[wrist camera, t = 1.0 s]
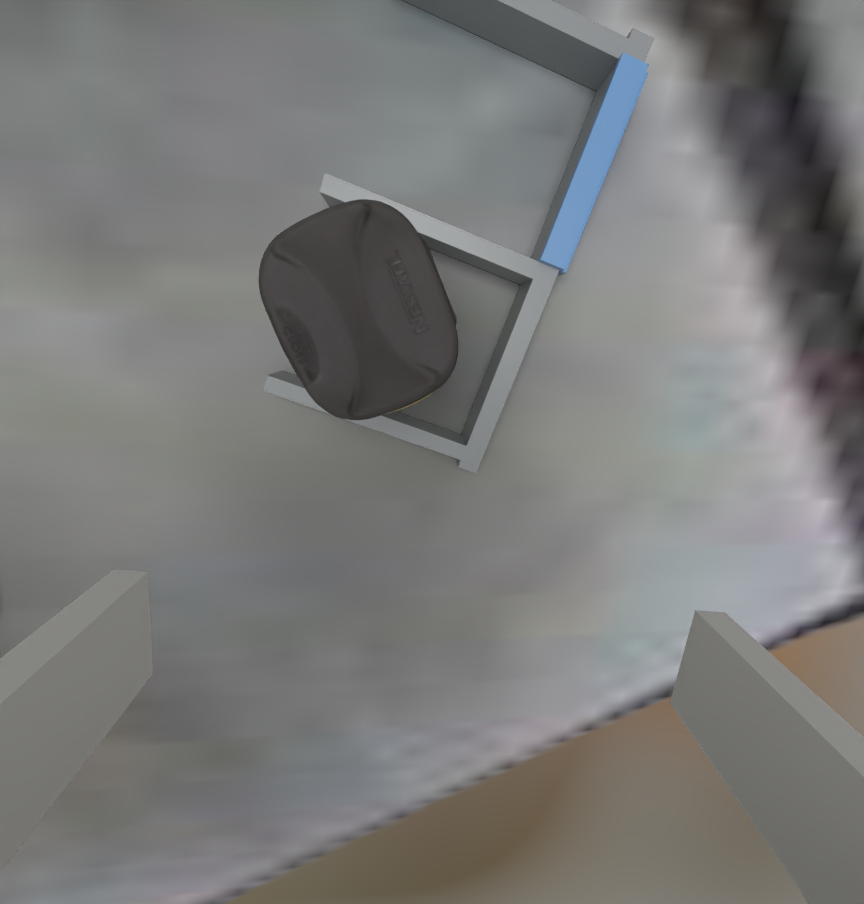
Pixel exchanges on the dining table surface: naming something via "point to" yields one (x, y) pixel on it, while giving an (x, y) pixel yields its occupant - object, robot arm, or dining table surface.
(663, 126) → the dining table surface
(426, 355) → the coffee jar
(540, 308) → the divided storage rack
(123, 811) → the dining table surface
